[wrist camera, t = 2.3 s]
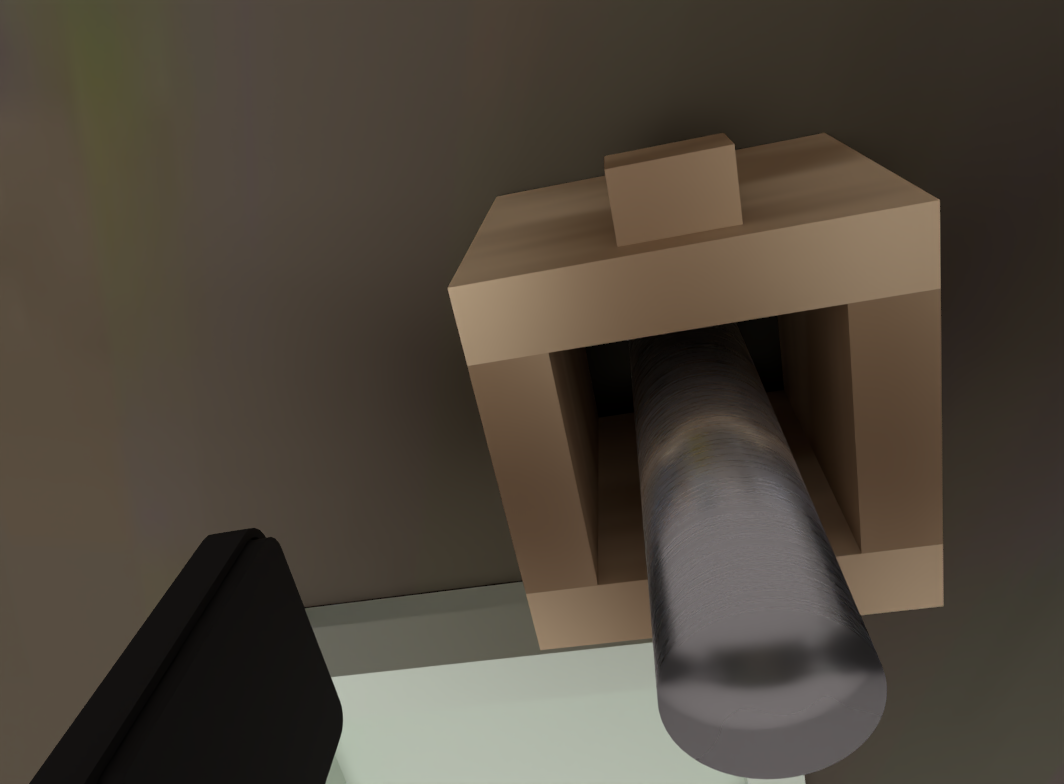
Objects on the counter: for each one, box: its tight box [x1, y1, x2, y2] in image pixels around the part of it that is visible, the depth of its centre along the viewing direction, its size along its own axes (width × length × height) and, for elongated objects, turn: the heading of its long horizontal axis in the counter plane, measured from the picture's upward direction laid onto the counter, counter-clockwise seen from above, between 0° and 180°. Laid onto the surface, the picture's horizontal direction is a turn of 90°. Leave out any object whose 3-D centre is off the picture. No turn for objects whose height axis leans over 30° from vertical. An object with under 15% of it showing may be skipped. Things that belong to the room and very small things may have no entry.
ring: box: [448, 133, 943, 650], centre depth 14 cm, size 6×8×6 cm
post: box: [628, 322, 887, 779], centre depth 12 cm, size 2×2×10 cm
